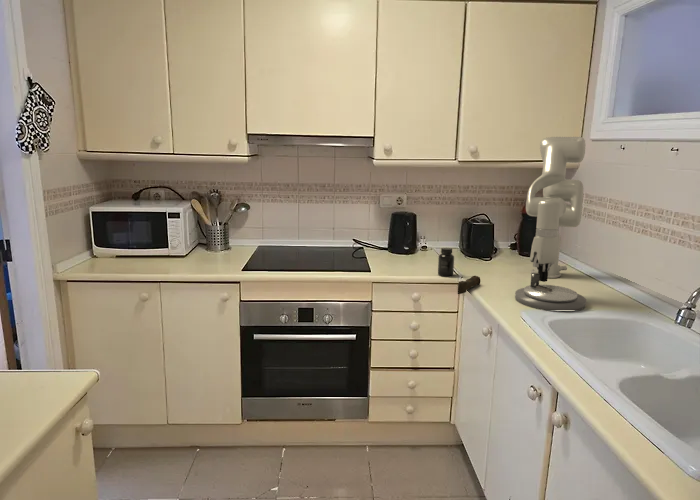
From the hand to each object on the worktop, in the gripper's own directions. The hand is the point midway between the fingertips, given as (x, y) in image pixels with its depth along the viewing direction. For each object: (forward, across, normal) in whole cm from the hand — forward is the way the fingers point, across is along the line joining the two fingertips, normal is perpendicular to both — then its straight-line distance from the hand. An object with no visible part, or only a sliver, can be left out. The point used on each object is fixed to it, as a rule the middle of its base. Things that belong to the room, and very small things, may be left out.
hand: (542, 280), depth 181 cm
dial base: (+6, +4, +7) cm, 10 cm away
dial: (+3, +4, +7) cm, 8 cm away
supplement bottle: (+6, +13, -41) cm, 43 cm away
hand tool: (+6, +19, -19) cm, 28 cm away
